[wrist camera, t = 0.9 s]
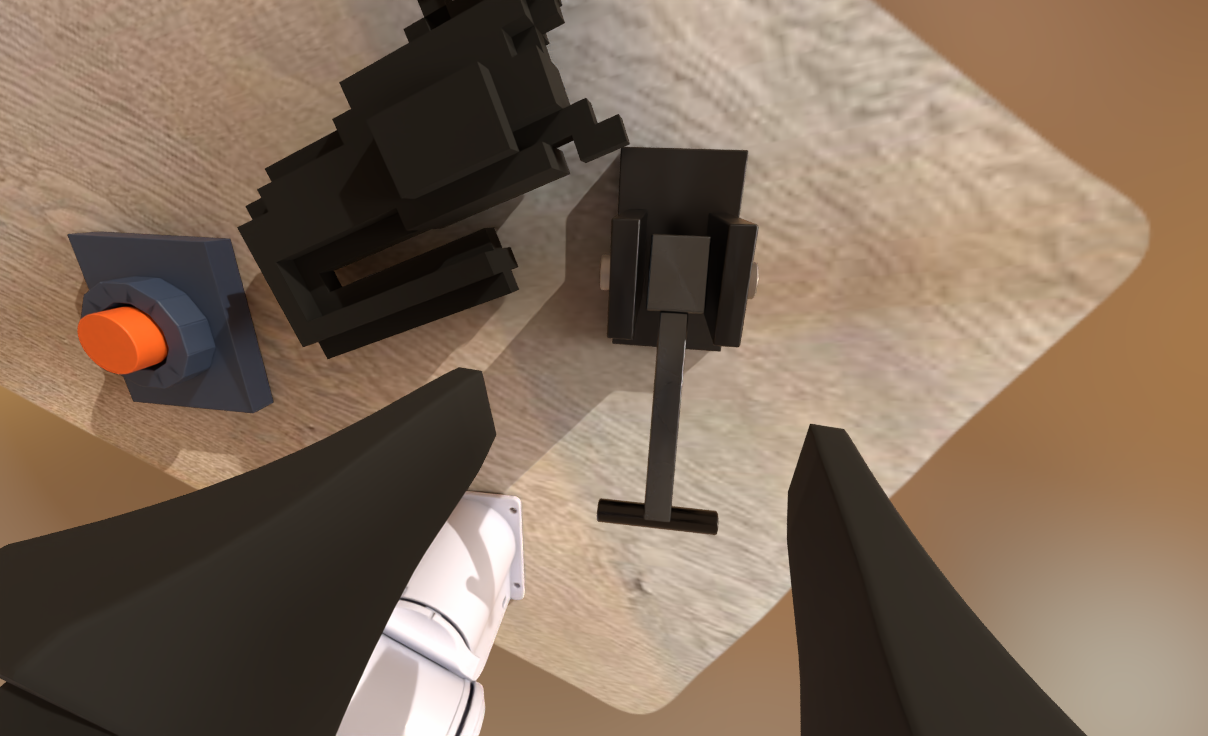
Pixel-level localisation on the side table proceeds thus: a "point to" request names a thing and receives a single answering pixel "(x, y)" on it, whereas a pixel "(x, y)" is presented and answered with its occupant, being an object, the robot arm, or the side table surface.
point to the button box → (180, 316)
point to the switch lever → (668, 383)
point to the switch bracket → (680, 207)
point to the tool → (421, 173)
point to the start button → (122, 339)
